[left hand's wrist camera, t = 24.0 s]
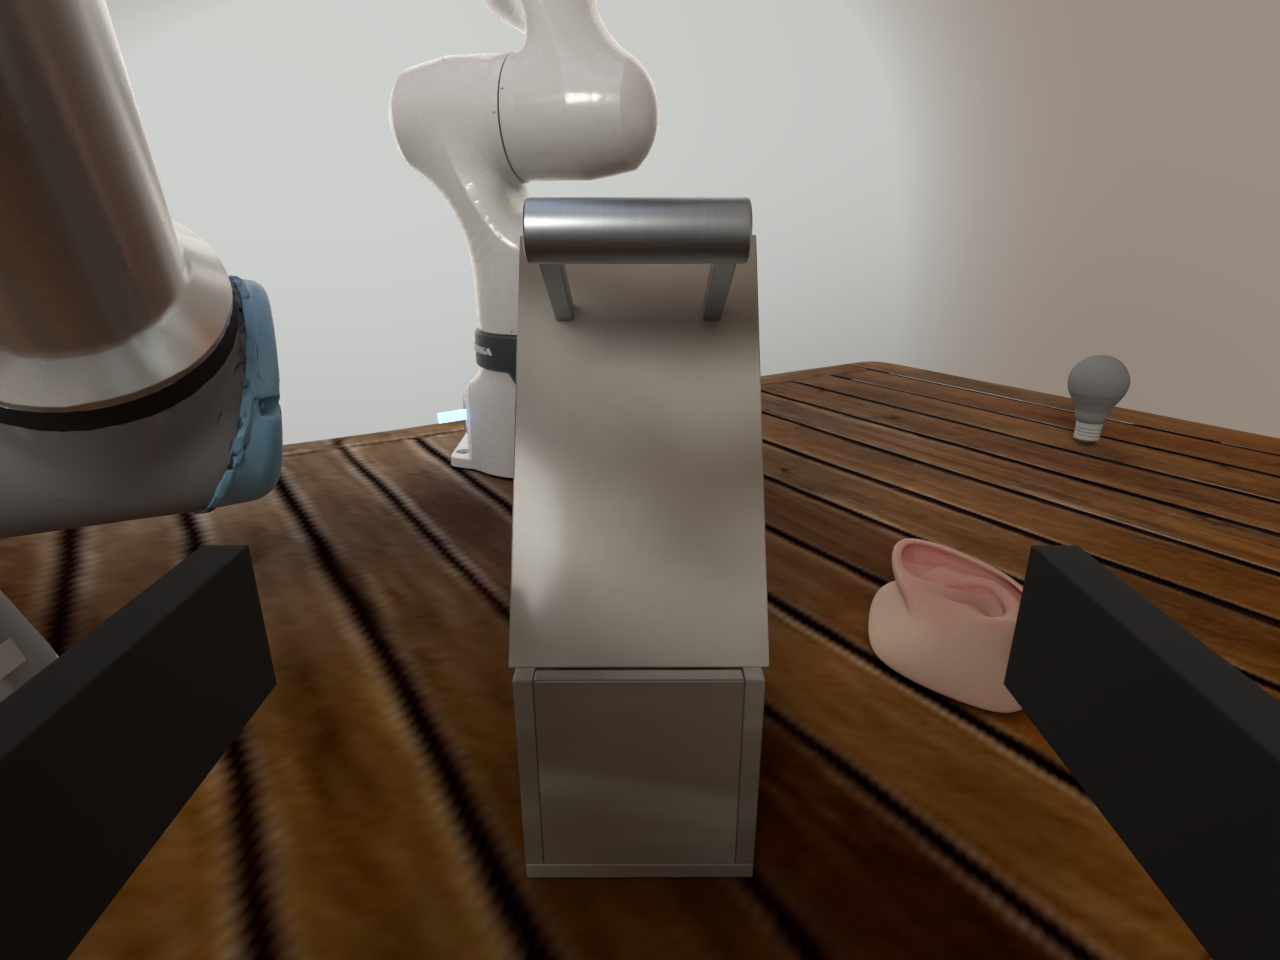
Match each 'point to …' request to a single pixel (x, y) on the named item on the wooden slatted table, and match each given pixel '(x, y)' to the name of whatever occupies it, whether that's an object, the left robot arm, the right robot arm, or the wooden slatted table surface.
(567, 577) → the lid
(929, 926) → the wooden slatted table surface
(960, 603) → the anatomical model
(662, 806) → the chest
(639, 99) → the right robot arm
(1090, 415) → the light bulb
